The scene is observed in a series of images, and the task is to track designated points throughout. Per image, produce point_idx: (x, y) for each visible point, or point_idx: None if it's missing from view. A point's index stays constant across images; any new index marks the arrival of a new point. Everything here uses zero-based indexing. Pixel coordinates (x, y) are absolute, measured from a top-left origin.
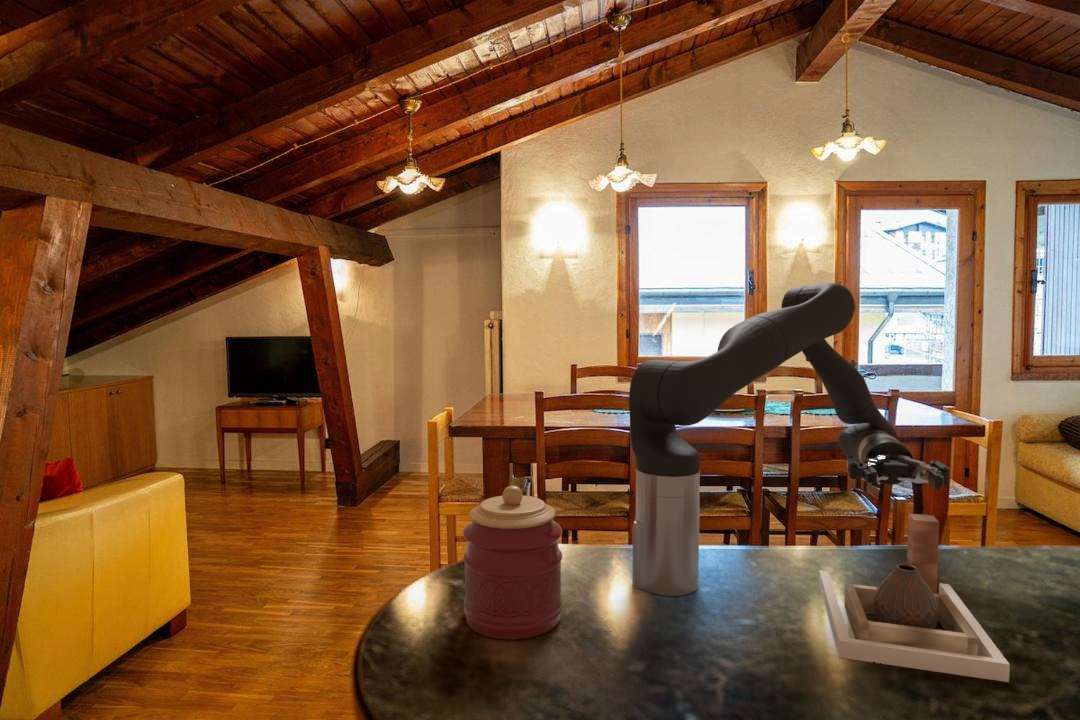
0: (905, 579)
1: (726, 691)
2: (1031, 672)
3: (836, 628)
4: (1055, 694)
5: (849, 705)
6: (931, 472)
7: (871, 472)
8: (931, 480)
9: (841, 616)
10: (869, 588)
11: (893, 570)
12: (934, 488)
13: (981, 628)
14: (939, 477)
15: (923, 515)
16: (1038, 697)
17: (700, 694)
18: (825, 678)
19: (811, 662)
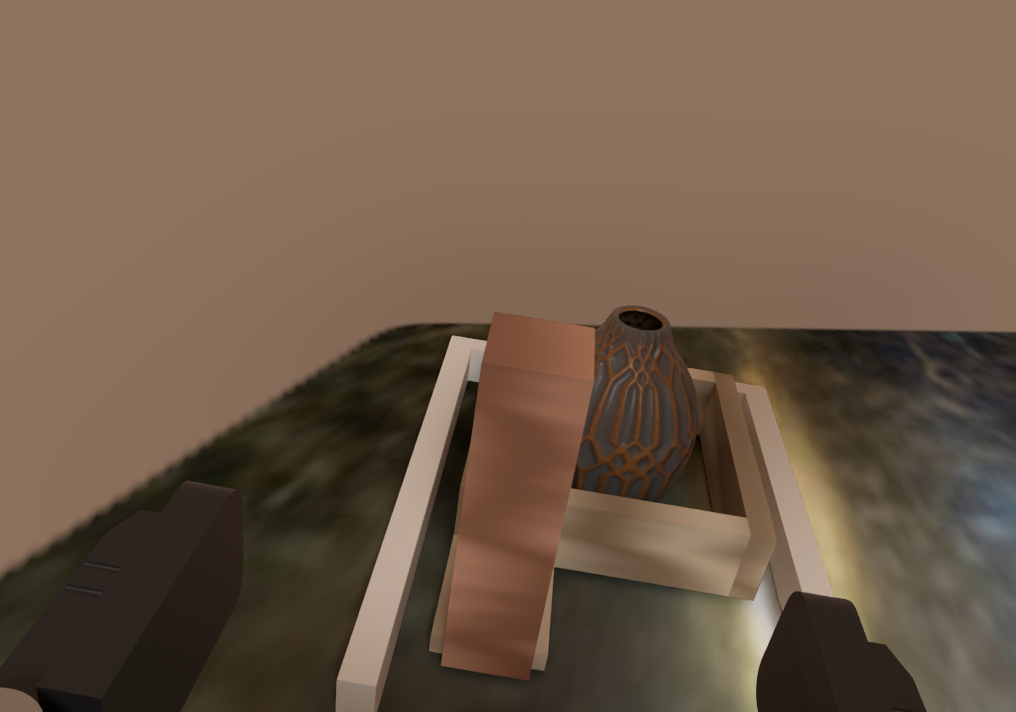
0: (644, 323)
1: (912, 355)
2: (378, 388)
3: (774, 420)
4: (384, 347)
5: (733, 334)
6: (173, 585)
7: (852, 623)
8: (181, 649)
9: (767, 460)
10: (699, 512)
11: (672, 338)
12: (236, 592)
13: (424, 425)
14: (200, 484)
15: (529, 362)
16: (422, 342)
17: (944, 351)
18: (773, 376)
19: (803, 407)
